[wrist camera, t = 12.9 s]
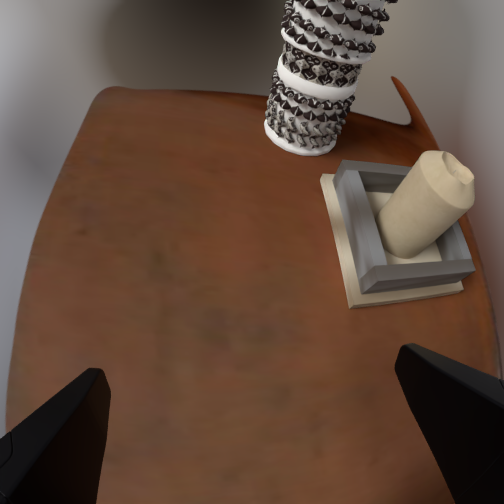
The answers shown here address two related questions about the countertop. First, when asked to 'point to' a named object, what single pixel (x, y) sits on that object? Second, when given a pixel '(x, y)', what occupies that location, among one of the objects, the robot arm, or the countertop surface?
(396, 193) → the candle
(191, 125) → the countertop surface
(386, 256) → the square tray
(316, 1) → the decorative candle
